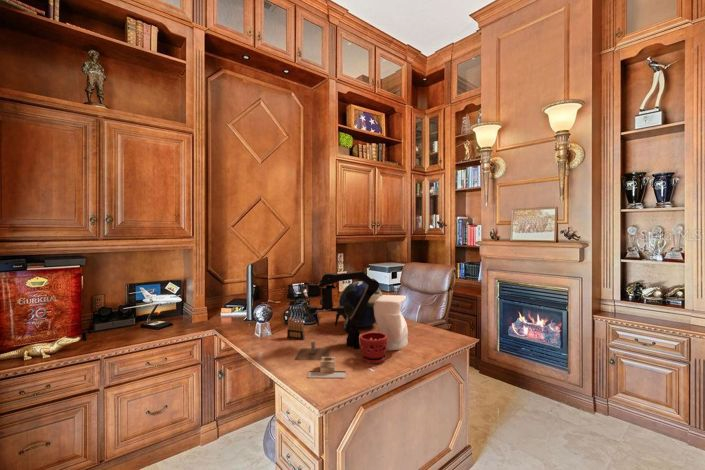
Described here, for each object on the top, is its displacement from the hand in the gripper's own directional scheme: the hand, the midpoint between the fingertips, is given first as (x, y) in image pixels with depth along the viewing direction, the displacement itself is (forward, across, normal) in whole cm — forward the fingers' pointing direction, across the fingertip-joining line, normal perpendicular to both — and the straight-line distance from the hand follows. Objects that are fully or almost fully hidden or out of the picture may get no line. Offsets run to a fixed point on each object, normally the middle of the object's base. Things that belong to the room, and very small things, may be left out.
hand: (327, 325), depth 176 cm
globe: (+12, -19, -41) cm, 47 cm away
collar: (+12, -3, +29) cm, 31 cm away
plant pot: (+12, -24, +16) cm, 31 cm away
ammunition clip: (+12, +20, -16) cm, 28 cm away
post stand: (+12, +6, +11) cm, 17 cm away
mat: (+12, -3, +29) cm, 32 cm away
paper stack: (+12, -33, -4) cm, 35 cm away
